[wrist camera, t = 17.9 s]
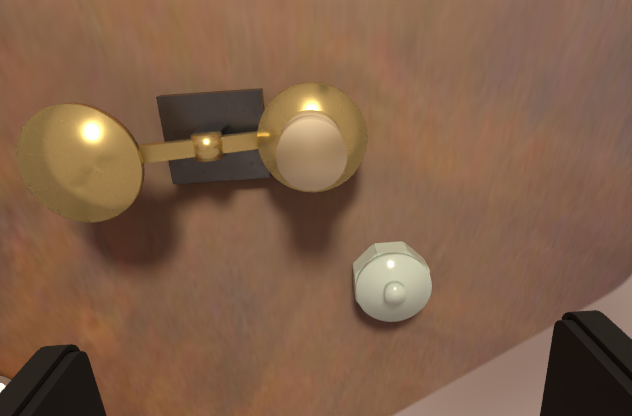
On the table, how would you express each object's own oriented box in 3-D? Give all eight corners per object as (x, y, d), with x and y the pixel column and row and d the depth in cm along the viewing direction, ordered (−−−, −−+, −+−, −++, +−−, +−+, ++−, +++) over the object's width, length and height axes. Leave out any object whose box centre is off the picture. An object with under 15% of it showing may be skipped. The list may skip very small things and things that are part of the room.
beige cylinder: (342, 167, 32) (348, 188, 27) (283, 171, 32) (279, 193, 27) (340, 107, 30) (345, 119, 26) (278, 111, 30) (272, 123, 26)
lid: (423, 302, 41) (433, 325, 38) (354, 307, 41) (358, 330, 38) (424, 239, 39) (436, 258, 35) (351, 245, 39) (355, 264, 35)
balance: (362, 173, 37) (374, 203, 30) (88, 191, 37) (36, 226, 30) (359, 75, 34) (372, 82, 27) (62, 95, 34) (-1, 108, 27)
